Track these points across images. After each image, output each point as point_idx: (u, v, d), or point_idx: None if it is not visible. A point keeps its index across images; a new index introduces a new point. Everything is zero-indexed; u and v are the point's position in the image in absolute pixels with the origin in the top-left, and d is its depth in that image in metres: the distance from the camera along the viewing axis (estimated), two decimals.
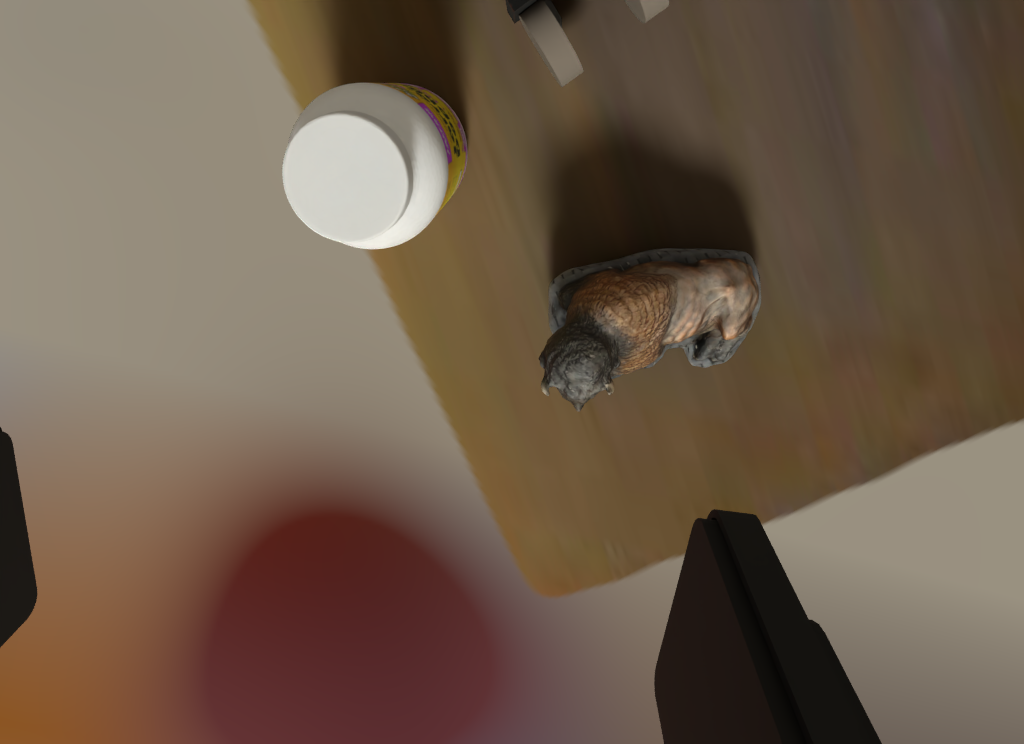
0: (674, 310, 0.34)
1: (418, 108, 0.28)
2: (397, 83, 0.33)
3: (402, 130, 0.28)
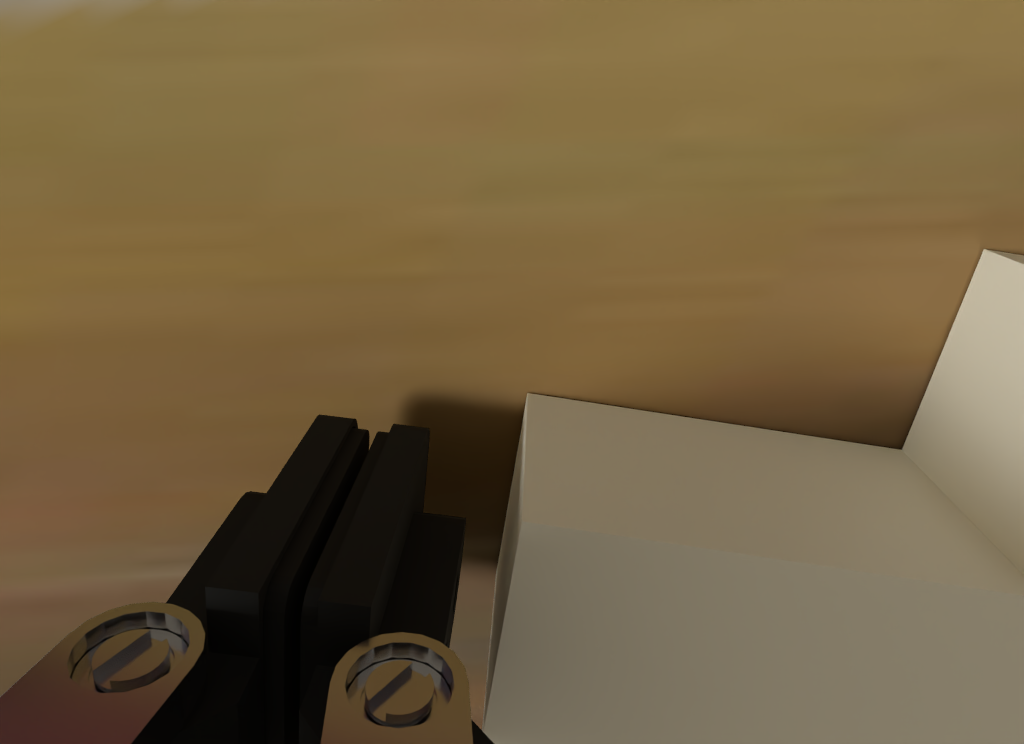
0: None
1: None
2: None
3: None
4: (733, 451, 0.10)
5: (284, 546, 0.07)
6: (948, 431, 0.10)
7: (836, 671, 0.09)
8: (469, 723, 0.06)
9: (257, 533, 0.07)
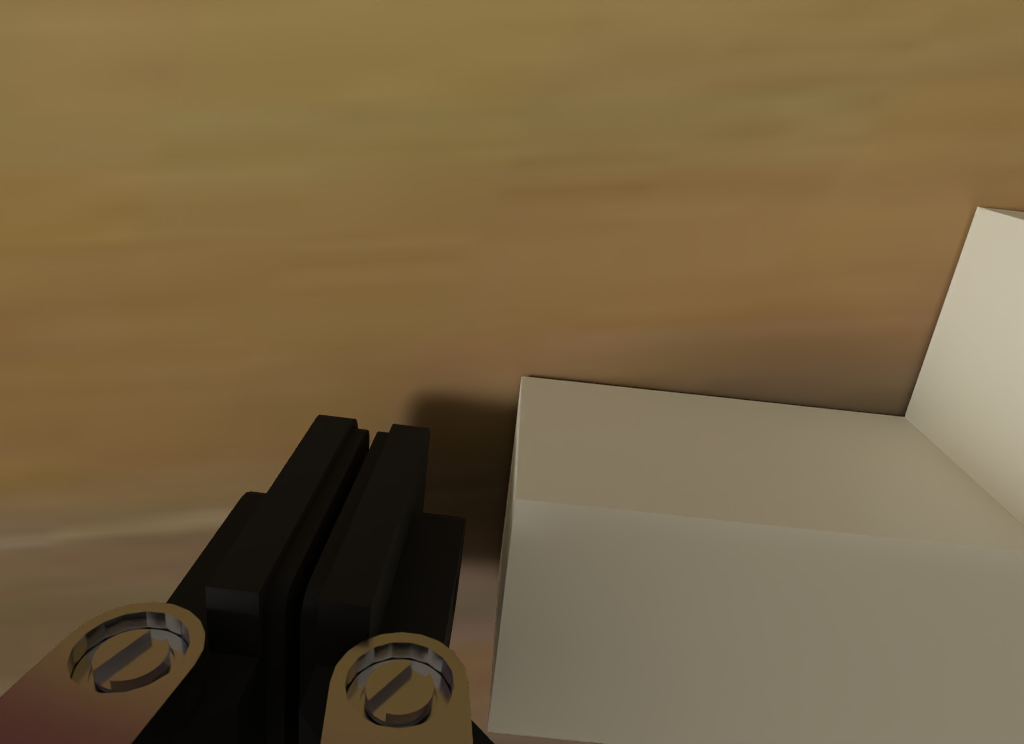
0: None
1: None
2: None
3: None
4: (733, 423, 0.10)
5: (283, 546, 0.07)
6: (949, 393, 0.10)
7: (844, 640, 0.08)
8: (468, 722, 0.06)
9: (257, 533, 0.07)
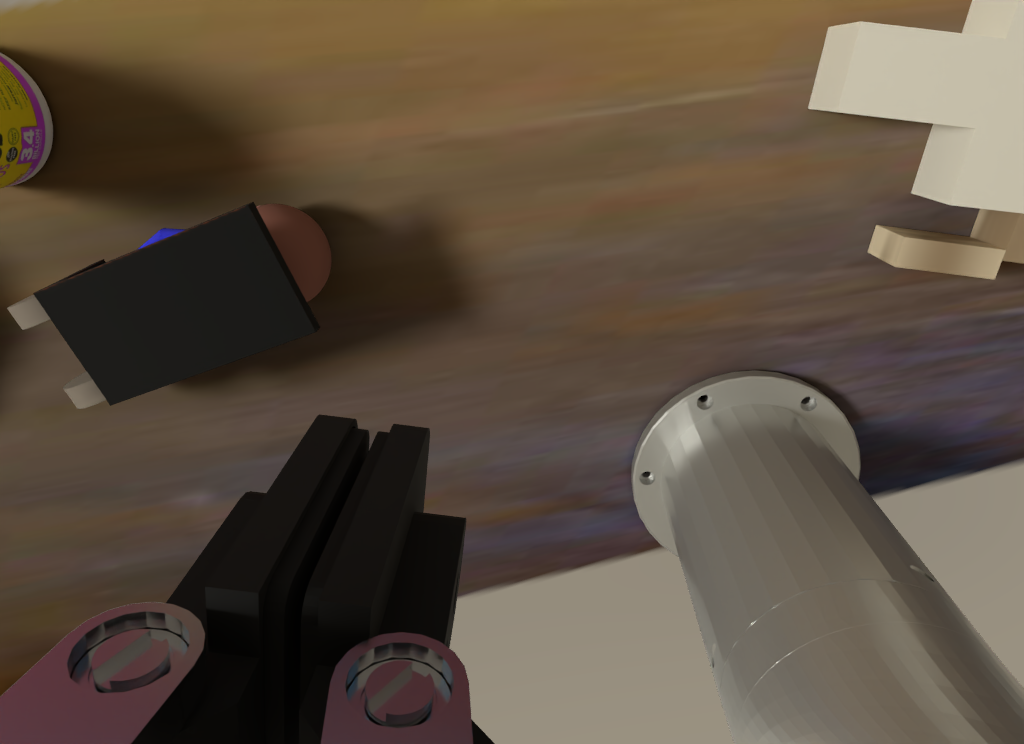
0: None
1: None
2: (10, 145, 0.32)
3: None
4: None
5: (284, 546, 0.07)
6: (975, 22, 0.31)
7: (946, 71, 0.30)
8: (469, 722, 0.06)
9: (257, 533, 0.07)
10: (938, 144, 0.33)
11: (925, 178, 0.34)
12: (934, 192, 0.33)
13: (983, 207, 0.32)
